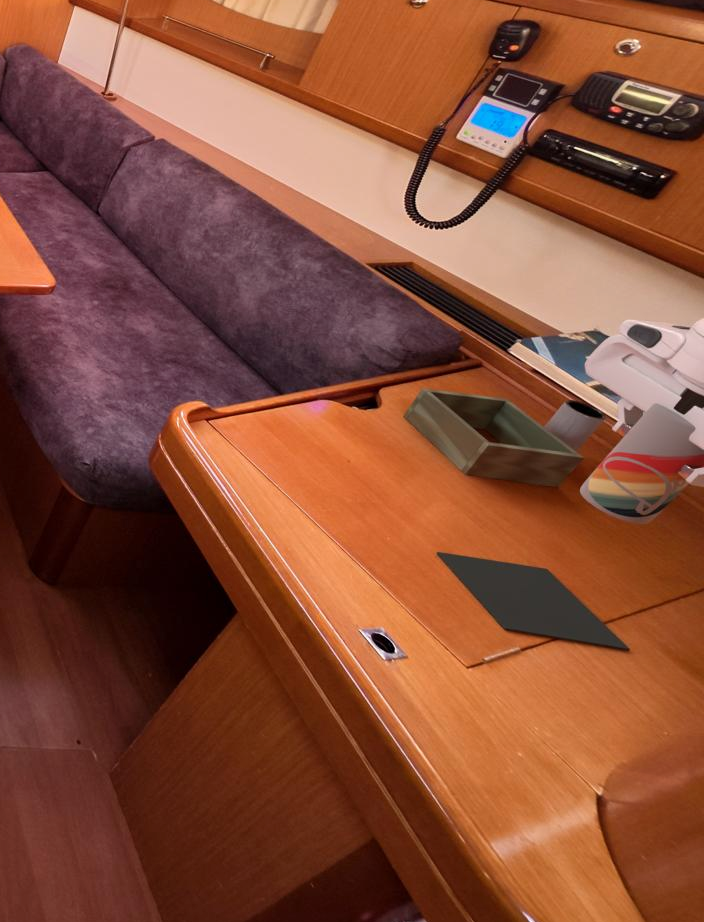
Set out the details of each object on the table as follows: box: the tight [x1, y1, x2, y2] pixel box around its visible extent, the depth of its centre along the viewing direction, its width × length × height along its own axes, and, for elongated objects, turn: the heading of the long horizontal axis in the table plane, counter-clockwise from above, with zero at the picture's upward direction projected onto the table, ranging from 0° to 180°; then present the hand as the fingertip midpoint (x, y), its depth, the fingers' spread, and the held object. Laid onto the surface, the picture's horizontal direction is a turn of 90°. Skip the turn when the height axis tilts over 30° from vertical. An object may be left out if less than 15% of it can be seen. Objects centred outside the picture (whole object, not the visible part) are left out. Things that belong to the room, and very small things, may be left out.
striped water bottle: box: [579, 388, 704, 525], centre depth 74 cm, size 6×6×20 cm
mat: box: [436, 551, 631, 652], centre depth 86 cm, size 14×11×1 cm
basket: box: [403, 388, 585, 488], centre depth 109 cm, size 14×14×7 cm
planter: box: [543, 399, 607, 453], centre depth 108 cm, size 4×4×10 cm
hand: (655, 457), depth 75 cm, fingers closed on striped water bottle, 5 cm apart
